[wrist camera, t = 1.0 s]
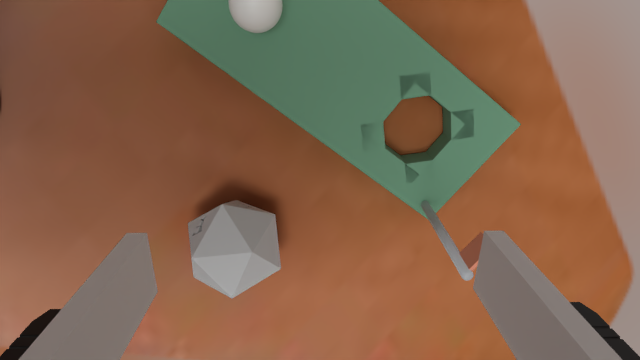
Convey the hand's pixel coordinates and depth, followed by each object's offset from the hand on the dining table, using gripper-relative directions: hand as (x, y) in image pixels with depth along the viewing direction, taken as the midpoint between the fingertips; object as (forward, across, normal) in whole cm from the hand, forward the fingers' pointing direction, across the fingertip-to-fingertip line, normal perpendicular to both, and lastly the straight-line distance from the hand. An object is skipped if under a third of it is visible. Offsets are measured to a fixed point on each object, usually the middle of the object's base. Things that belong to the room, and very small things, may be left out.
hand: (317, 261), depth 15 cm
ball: (+19, -4, +10) cm, 22 cm away
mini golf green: (+23, +3, +4) cm, 24 cm away
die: (+24, -8, -11) cm, 27 cm away
